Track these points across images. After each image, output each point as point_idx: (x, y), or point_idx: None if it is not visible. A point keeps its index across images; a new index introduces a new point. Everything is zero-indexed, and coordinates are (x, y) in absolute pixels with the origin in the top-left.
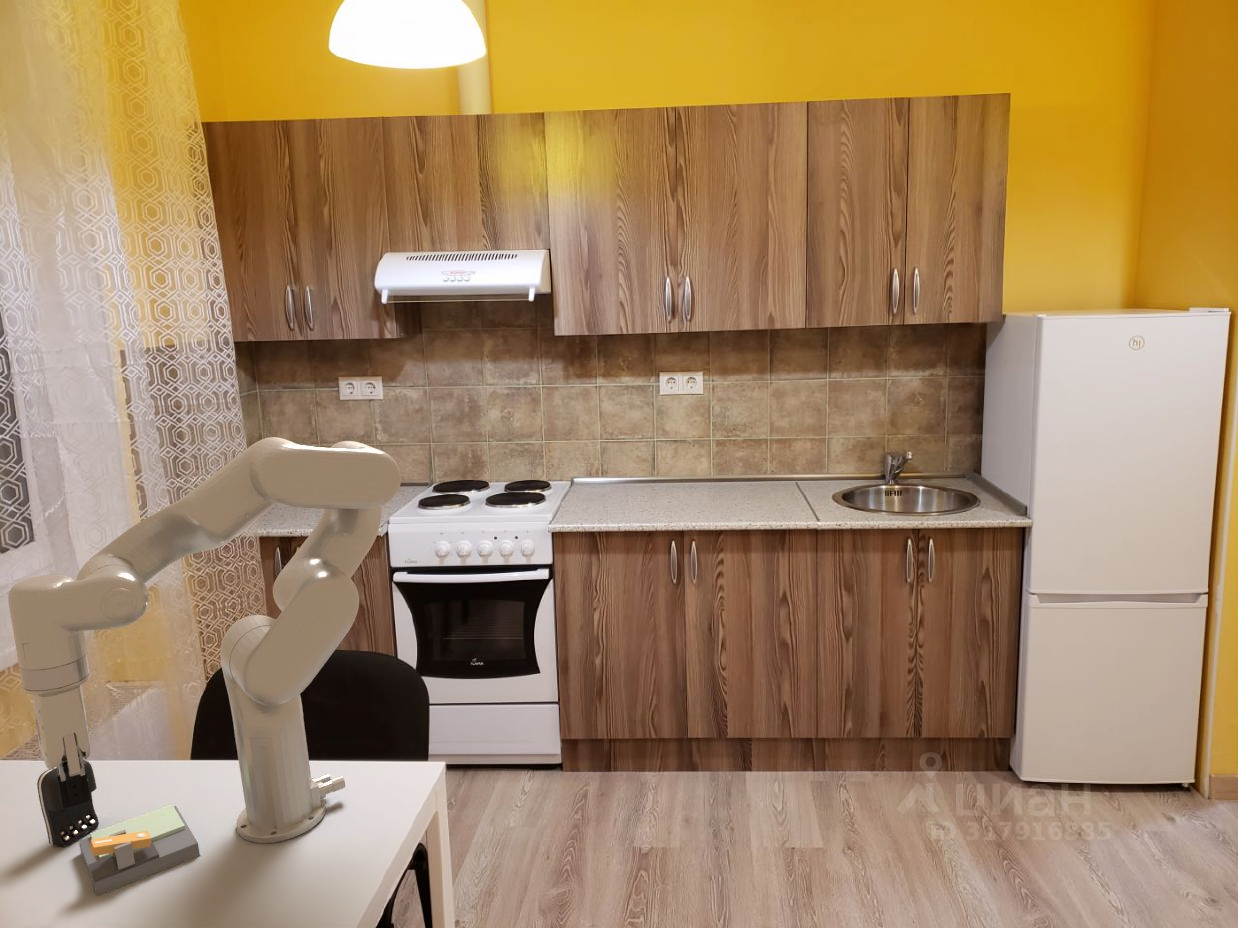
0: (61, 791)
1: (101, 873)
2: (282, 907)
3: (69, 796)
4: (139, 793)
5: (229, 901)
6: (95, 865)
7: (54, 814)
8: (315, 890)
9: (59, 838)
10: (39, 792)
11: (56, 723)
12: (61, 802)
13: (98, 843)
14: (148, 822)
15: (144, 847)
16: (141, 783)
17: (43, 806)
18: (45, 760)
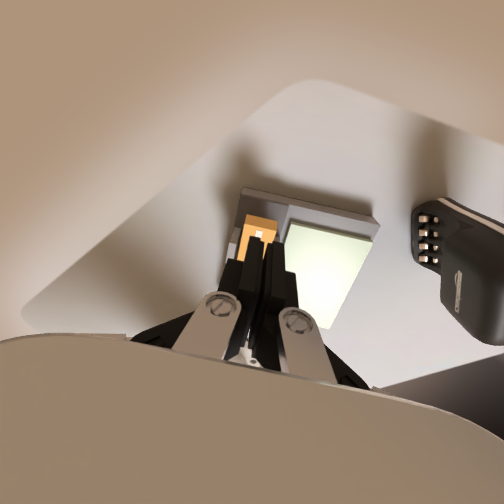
0: (243, 265)
1: (246, 208)
2: (67, 292)
3: (225, 266)
4: (432, 318)
5: (111, 271)
6: (276, 211)
7: (458, 229)
8: (75, 318)
9: (429, 211)
10: None
11: None
12: (259, 242)
13: (255, 233)
14: (314, 296)
15: None
16: (453, 329)
17: (491, 226)
18: (59, 381)
